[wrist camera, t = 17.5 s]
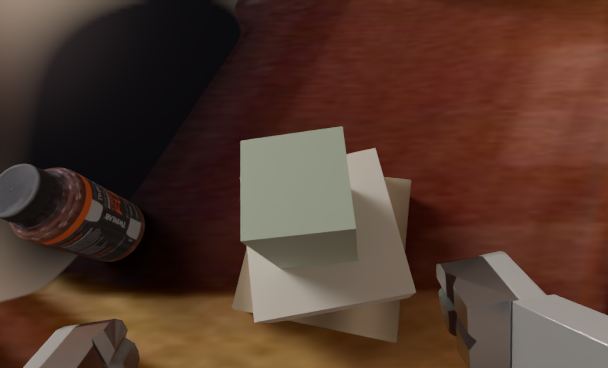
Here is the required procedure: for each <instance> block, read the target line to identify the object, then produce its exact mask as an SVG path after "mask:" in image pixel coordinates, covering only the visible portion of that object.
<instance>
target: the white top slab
mask: <svg viewBox="0 0 608 368" xmlns="http://www.w3.org/2000/svg"><path fill="white" fill-rule="evenodd" d="M346 157H347V164H348V172H349V179H350V187H351V194H352V202H353V209H354V217H355V224H356V236H357V253H358V261H354V262H343V263H333V264H323V265H313V266H303V267H292V268H282V269H280V268H278V267H277V266H276V265H274V264H273V263H271V262H270V261H268V260H267V259H265V258H264V257H263V256H261V255H260V254H258V253H257V252H255V251H254V250H253V249H251V248H250V247H248V246H247V254H248V264H249V274H250V285H251V295H252V305H253V316H254V322H255V323H275V322H280V321H286V320H291V319H297V318H302V317H307V316H313V315H318V314H324V313H329V312H335V311H340V310H346V309H351V308H356V307H362V306H367V305H373V304H378V303H384V302H389V301H395V300H400V299H405V298H409V297H410V296H412V295H413V294H415V293H416V290H415V286H414V283H413V279H412V276H411V272H410V269H409V265H408V262H407V258H406V255H405V251H404V248H403V244H402V240H401V237H400V233H399V230H398V226H397V223H396V219H395V216H394V212H393V209H392V205H391V202H390V198H389V195H388V191H387V188H386V184H385V181H384V177H383V173H382V170H381V166H380V163H379V159H378V156H377V152H376V149H375V148H373V149H368V150H364V151H359V152H355V153H350V154H346ZM240 181H241V178H240Z"/></svg>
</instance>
